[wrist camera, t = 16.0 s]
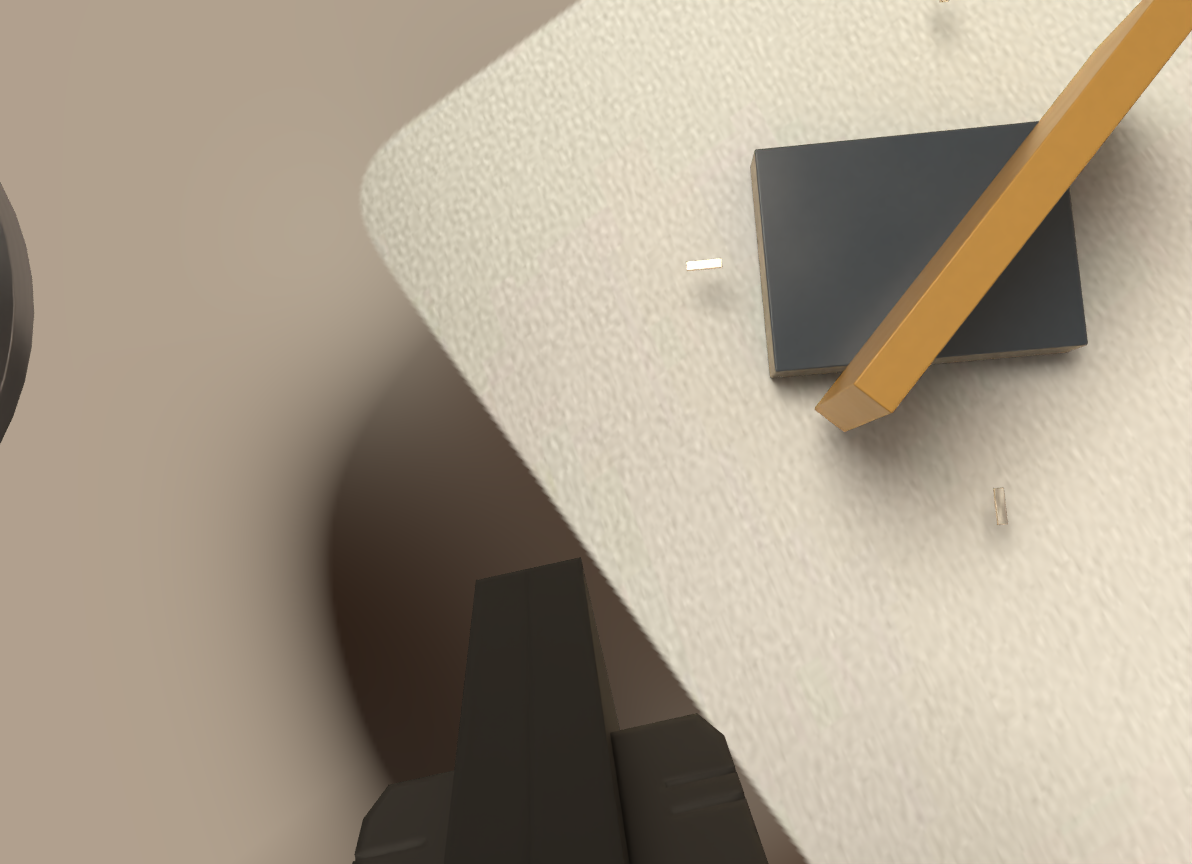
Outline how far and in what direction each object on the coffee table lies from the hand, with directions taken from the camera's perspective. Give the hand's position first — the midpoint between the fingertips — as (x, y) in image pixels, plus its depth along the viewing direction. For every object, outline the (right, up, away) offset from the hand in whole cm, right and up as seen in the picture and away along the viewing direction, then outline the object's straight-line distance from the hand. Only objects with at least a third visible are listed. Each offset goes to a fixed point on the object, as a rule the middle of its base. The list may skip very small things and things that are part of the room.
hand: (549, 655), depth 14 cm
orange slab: (+15, +11, +25) cm, 31 cm away
